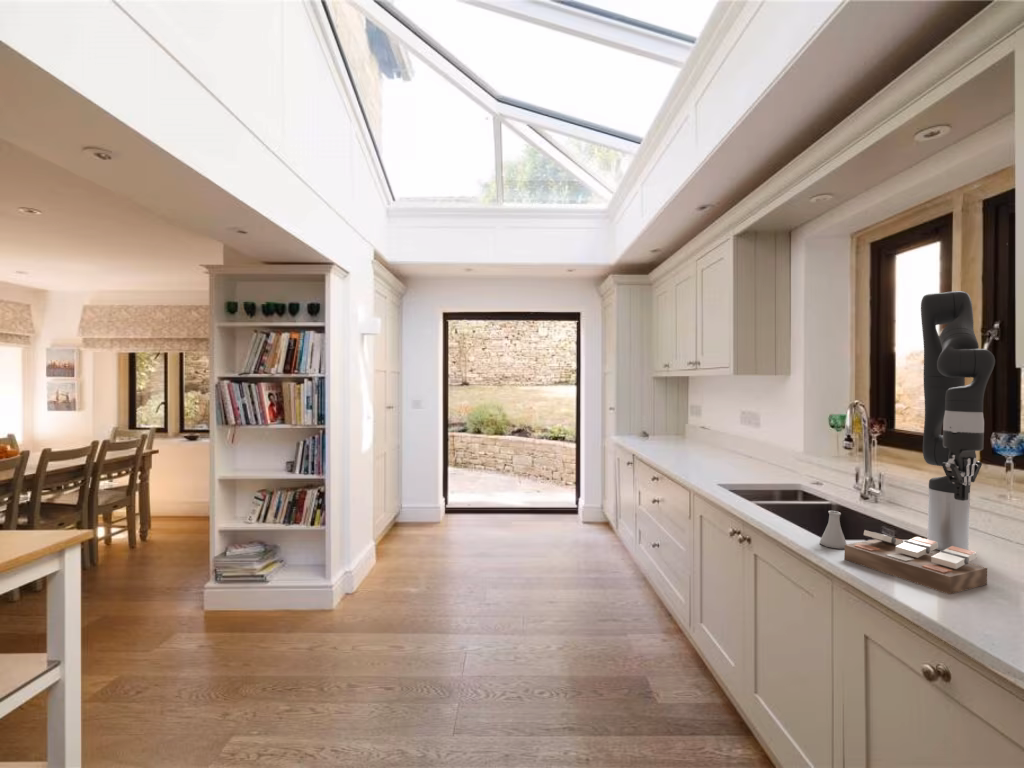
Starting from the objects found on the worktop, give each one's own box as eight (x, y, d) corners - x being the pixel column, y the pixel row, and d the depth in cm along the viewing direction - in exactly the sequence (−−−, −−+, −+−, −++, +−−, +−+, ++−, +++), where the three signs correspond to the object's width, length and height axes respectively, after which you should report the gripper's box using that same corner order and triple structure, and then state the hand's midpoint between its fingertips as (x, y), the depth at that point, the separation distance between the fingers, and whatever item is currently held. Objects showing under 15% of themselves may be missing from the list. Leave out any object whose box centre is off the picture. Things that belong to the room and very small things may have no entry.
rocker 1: (882, 541, 142) (883, 534, 142) (902, 546, 137) (904, 540, 138) (863, 535, 139) (864, 529, 139) (883, 541, 134) (884, 534, 134)
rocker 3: (951, 552, 128) (951, 545, 128) (977, 558, 123) (976, 551, 123) (931, 562, 124) (930, 555, 124) (956, 570, 119) (956, 562, 119)
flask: (852, 550, 145) (853, 516, 145) (825, 548, 147) (826, 514, 147) (841, 542, 153) (842, 509, 152) (815, 540, 154) (816, 508, 154)
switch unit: (880, 552, 144) (881, 537, 144) (986, 584, 122) (987, 566, 122) (844, 559, 138) (844, 543, 138) (949, 594, 116) (950, 575, 116)
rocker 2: (915, 542, 135) (915, 535, 135) (938, 548, 130) (938, 541, 130) (895, 552, 131) (894, 545, 131) (918, 558, 127) (917, 551, 127)
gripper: (959, 428, 131) (957, 494, 131) (929, 428, 125) (927, 498, 126) (996, 430, 124) (994, 501, 124) (966, 431, 119) (964, 505, 119)
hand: (961, 499), depth 125 cm, fingers closed
